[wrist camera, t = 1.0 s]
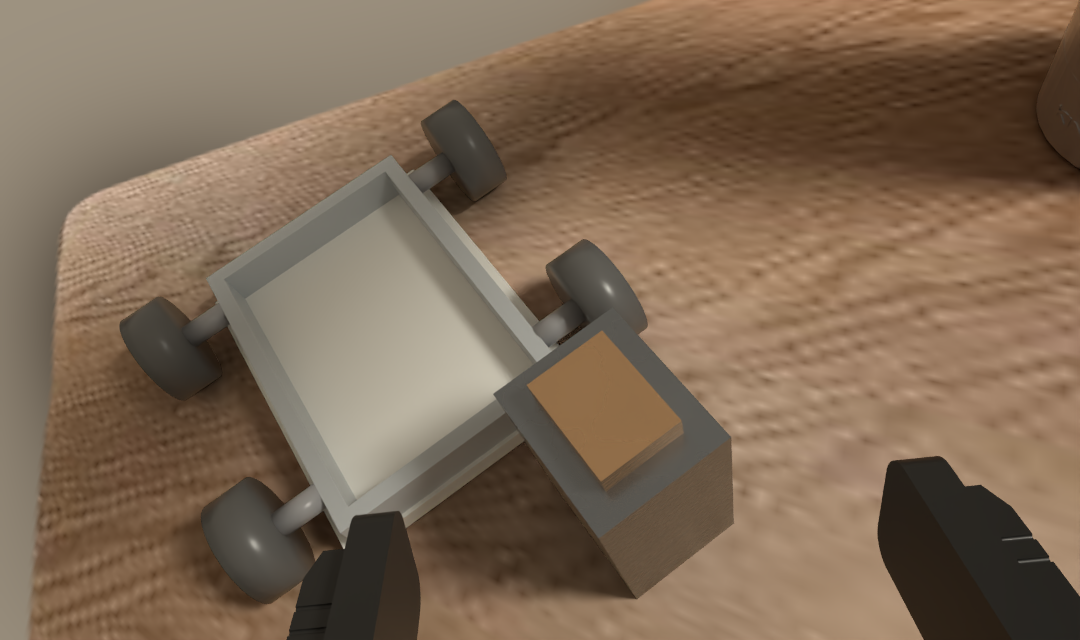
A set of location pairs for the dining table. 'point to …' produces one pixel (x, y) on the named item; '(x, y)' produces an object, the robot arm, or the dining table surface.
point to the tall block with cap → (625, 449)
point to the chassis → (372, 351)
